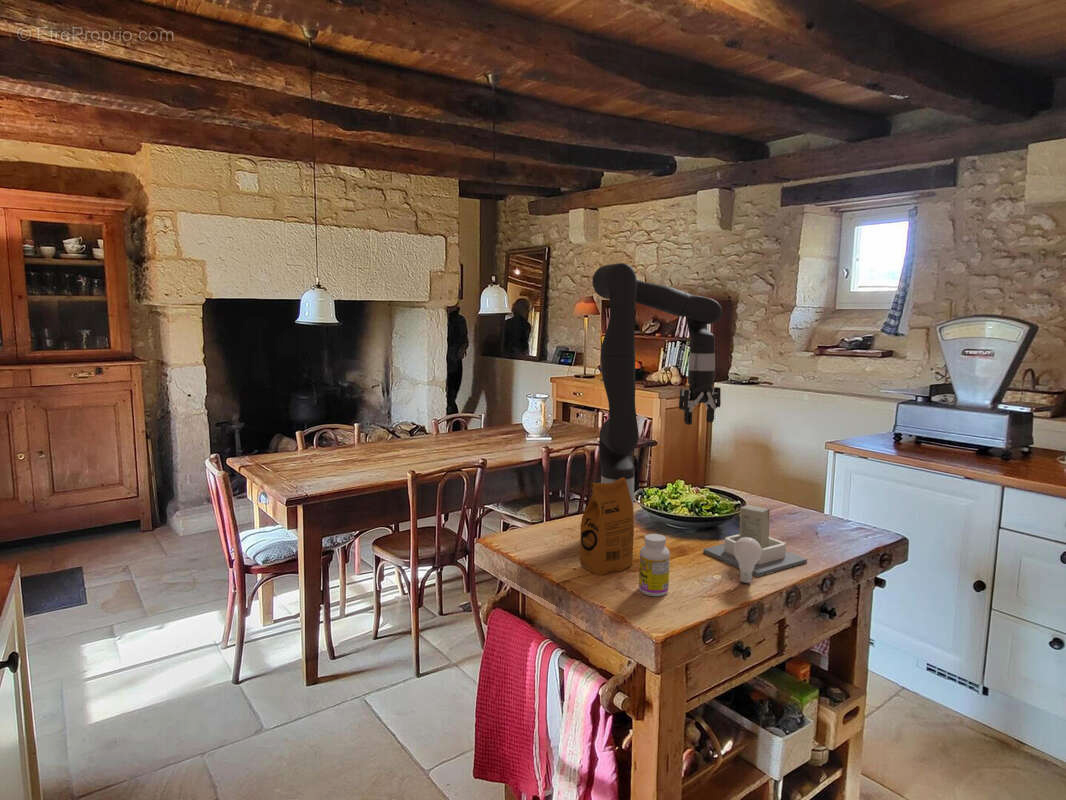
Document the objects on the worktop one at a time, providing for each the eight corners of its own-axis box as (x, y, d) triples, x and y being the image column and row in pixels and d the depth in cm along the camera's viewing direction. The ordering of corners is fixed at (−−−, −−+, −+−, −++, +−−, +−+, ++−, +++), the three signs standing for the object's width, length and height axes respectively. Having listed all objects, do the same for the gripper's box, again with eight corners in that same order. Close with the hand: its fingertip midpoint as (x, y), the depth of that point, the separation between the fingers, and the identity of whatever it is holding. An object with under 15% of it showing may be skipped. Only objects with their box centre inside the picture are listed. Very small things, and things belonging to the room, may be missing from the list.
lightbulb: (745, 590, 150) (748, 544, 148) (725, 580, 156) (728, 535, 154) (765, 585, 153) (768, 540, 151) (745, 575, 158) (748, 531, 157)
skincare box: (768, 554, 169) (771, 508, 167) (760, 559, 166) (763, 512, 164) (745, 548, 174) (748, 503, 172) (737, 552, 170) (739, 506, 169)
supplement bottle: (635, 585, 152) (637, 532, 151) (663, 584, 153) (665, 531, 151) (642, 598, 146) (644, 542, 144) (671, 597, 146) (674, 542, 145)
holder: (757, 576, 158) (758, 559, 157) (703, 552, 173) (704, 536, 172) (806, 562, 166) (808, 545, 166) (751, 540, 182) (752, 525, 181)
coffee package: (573, 564, 165) (575, 479, 161) (613, 555, 171) (615, 472, 168) (597, 578, 156) (599, 489, 153) (638, 568, 163) (640, 481, 159)
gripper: (692, 370, 185) (690, 427, 187) (728, 368, 192) (726, 423, 194) (674, 368, 191) (672, 423, 193) (710, 366, 198) (707, 419, 200)
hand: (699, 423), depth 194 cm, fingers open, 8 cm apart
